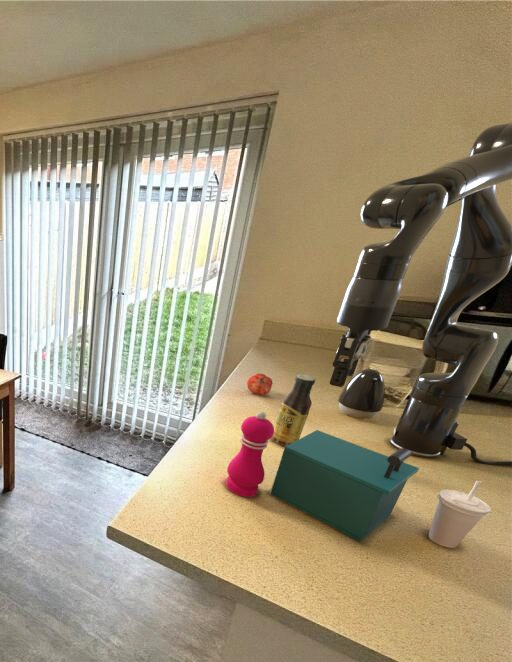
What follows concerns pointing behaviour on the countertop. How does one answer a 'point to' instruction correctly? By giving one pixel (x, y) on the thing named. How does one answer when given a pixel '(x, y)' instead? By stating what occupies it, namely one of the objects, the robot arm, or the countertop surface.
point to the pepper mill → (250, 456)
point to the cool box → (332, 496)
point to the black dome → (363, 395)
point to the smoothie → (456, 516)
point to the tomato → (259, 384)
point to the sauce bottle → (293, 412)
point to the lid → (355, 461)
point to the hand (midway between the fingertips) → (341, 380)
